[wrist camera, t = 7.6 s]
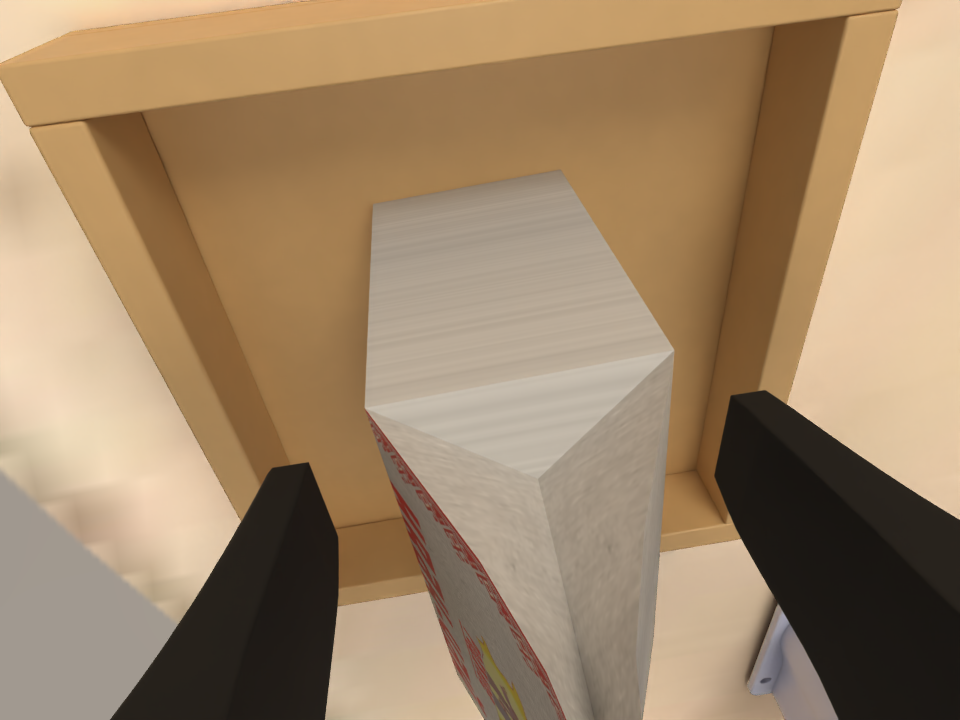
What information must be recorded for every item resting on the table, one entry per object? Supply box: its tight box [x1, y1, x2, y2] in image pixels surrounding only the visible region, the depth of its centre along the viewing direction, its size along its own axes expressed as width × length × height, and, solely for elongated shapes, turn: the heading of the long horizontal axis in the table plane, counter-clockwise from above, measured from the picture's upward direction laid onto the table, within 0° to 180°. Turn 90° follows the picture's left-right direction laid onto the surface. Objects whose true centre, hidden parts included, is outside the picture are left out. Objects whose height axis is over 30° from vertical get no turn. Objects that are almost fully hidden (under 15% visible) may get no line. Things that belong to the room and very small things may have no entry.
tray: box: [0, 0, 902, 606], centre depth 13 cm, size 14×13×2 cm
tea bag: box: [365, 170, 674, 720], centre depth 10 cm, size 4×7×10 cm, turn 8°
